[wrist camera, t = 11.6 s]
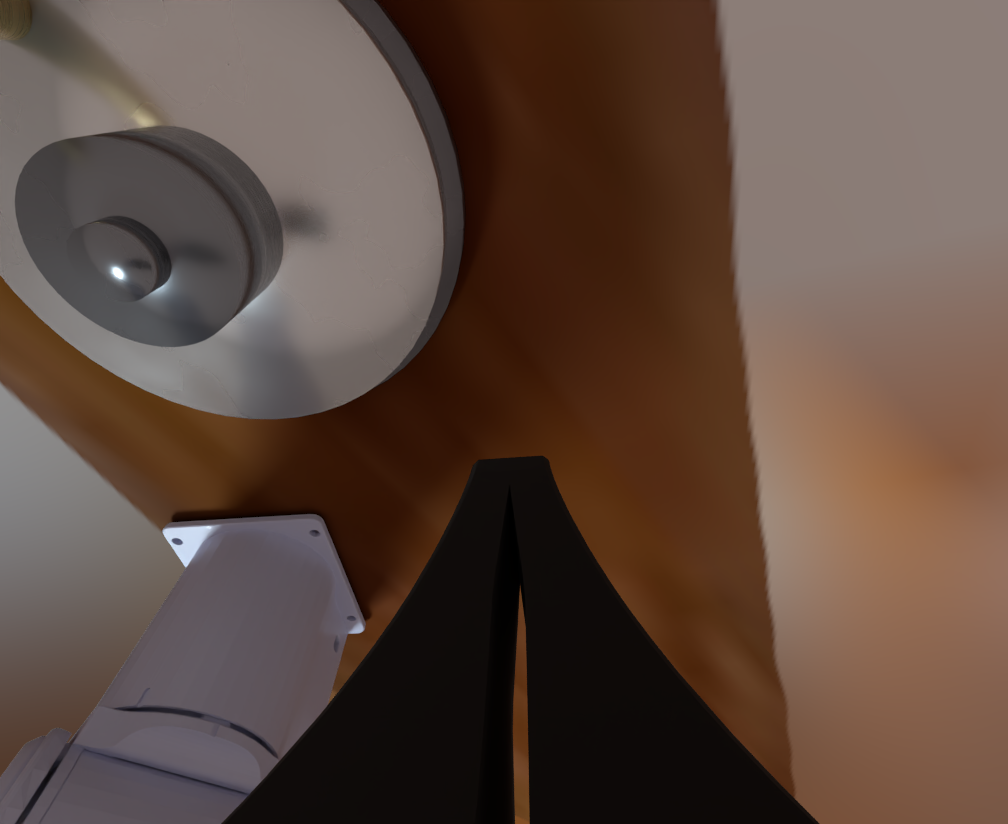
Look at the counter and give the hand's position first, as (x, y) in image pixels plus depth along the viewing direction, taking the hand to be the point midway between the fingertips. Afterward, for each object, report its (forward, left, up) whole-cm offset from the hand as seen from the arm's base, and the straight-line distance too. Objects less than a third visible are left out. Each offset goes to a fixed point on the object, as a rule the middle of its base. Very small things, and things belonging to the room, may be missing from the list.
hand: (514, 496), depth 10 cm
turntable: (+4, +9, -9) cm, 13 cm away
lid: (+4, +9, -8) cm, 13 cm away
